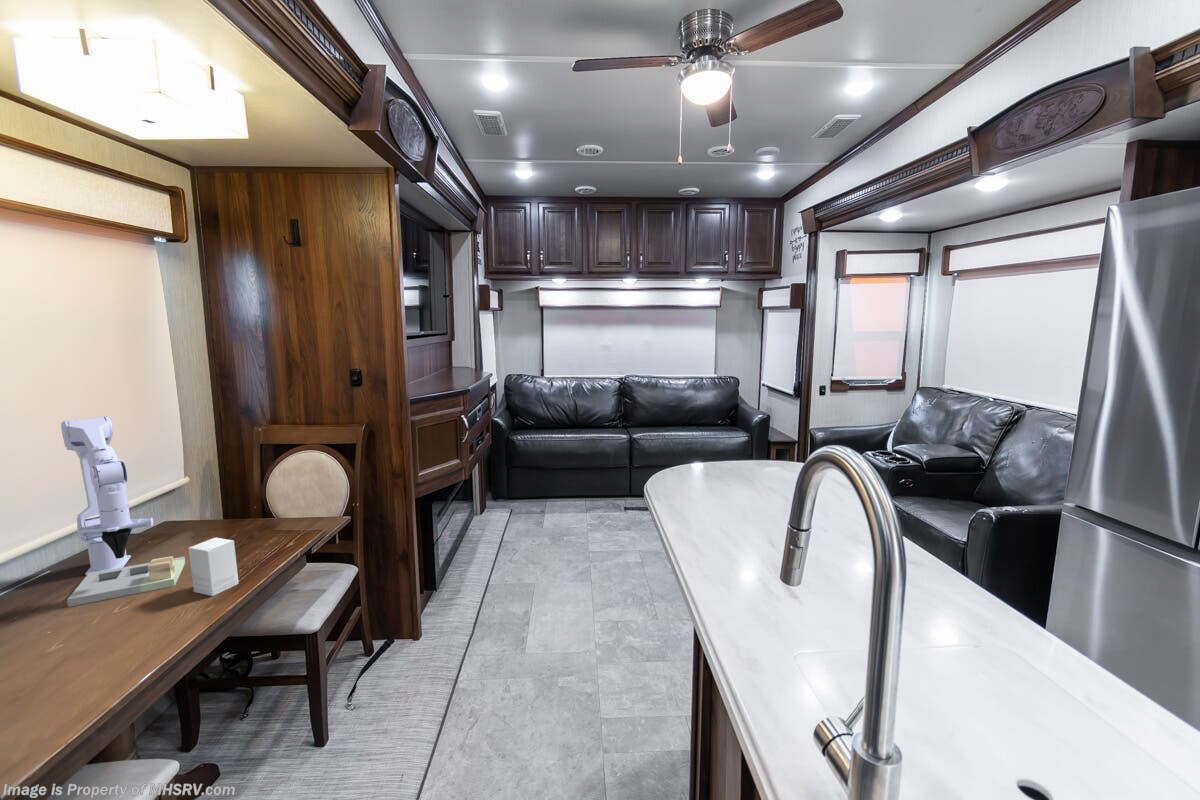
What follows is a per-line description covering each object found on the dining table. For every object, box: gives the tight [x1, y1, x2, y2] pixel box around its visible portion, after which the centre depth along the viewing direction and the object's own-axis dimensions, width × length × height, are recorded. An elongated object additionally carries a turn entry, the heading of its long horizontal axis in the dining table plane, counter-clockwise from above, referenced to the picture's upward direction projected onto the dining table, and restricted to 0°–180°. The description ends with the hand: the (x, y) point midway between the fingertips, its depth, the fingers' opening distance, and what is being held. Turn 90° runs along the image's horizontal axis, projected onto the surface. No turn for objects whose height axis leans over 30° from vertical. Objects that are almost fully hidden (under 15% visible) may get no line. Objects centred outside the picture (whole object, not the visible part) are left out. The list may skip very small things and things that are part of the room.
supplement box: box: [188, 537, 239, 597], centre depth 138 cm, size 7×7×13 cm
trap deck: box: [66, 556, 186, 608], centre depth 141 cm, size 16×21×2 cm
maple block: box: [148, 555, 175, 582], centre depth 141 cm, size 4×4×4 cm
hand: (120, 556), depth 136 cm, fingers closed
